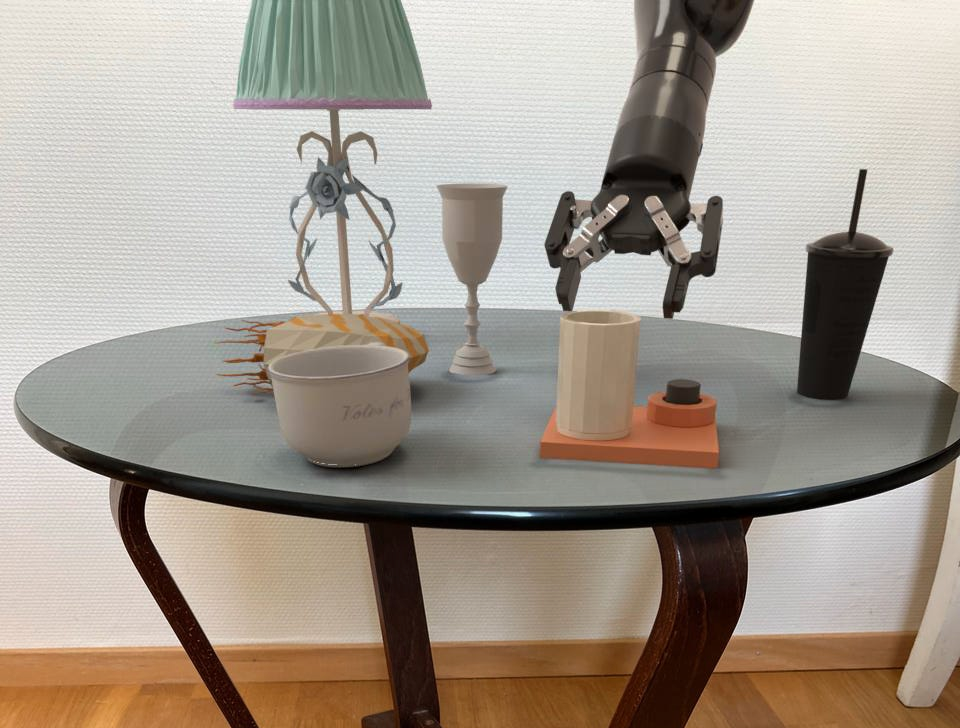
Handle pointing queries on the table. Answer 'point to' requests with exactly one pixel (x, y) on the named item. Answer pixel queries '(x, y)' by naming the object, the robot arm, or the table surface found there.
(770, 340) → the table surface
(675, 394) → the button
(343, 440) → the teacup
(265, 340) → the nautilus
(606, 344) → the cup
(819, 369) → the drinking cup
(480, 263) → the chalice
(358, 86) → the table lamp
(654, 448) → the scale
